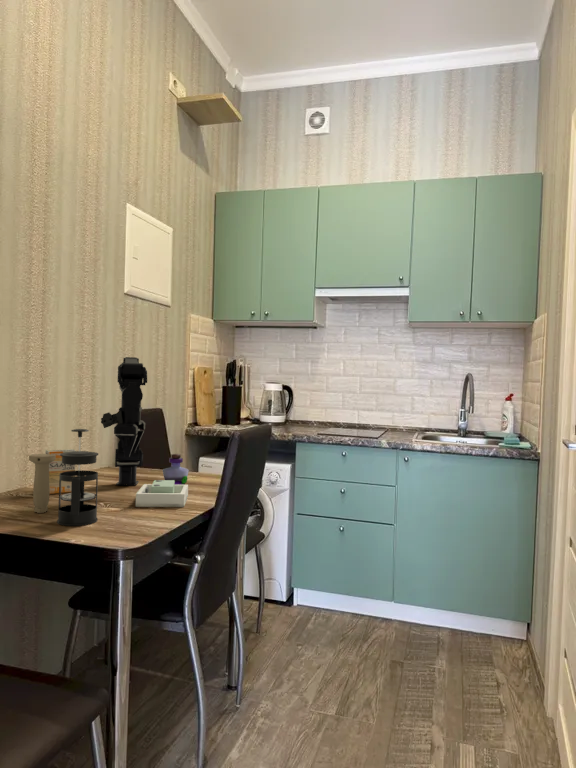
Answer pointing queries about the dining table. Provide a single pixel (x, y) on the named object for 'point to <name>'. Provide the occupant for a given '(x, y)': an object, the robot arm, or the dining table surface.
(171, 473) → the potion bottle
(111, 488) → the dining table surface
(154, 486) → the green box with knobs
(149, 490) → the cabinet carcass
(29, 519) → the dining table surface
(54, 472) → the supplement box
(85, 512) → the french press
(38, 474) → the handle
